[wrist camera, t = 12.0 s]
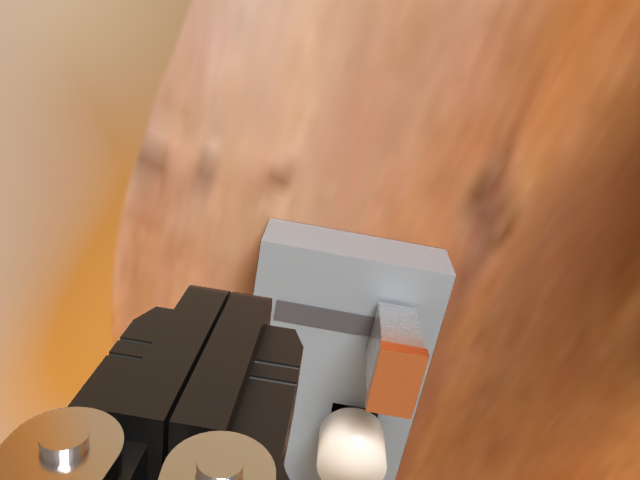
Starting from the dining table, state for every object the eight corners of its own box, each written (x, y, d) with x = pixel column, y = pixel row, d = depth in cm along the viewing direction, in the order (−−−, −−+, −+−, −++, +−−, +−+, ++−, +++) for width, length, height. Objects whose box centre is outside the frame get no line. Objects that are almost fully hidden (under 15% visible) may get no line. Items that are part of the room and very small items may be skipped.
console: (446, 249, 38) (456, 276, 34) (372, 508, 47) (374, 551, 44) (270, 217, 38) (260, 241, 34) (230, 483, 47) (220, 525, 43)
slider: (418, 307, 35) (429, 357, 30) (403, 363, 37) (410, 419, 32) (377, 299, 35) (381, 348, 30) (363, 356, 37) (365, 411, 32)
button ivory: (388, 386, 40) (393, 446, 35) (375, 434, 42) (378, 498, 36) (327, 375, 40) (323, 434, 35) (316, 424, 42) (311, 487, 36)
